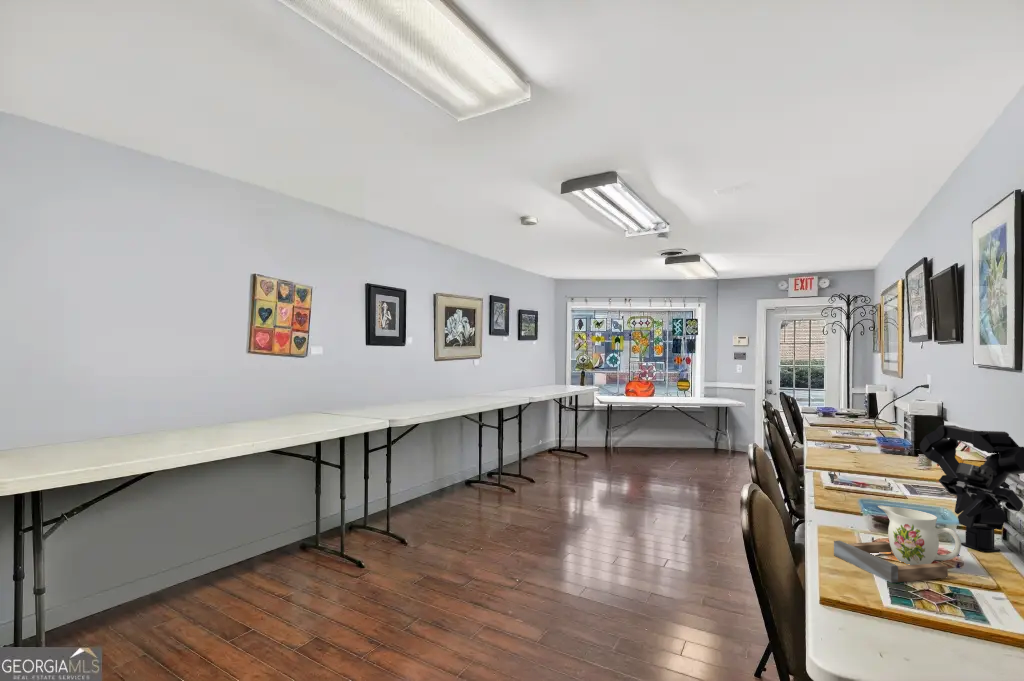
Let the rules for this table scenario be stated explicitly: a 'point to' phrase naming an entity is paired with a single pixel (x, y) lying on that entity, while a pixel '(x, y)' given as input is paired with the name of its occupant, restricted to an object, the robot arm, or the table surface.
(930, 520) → the pitcher
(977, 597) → the table surface
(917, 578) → the dock
